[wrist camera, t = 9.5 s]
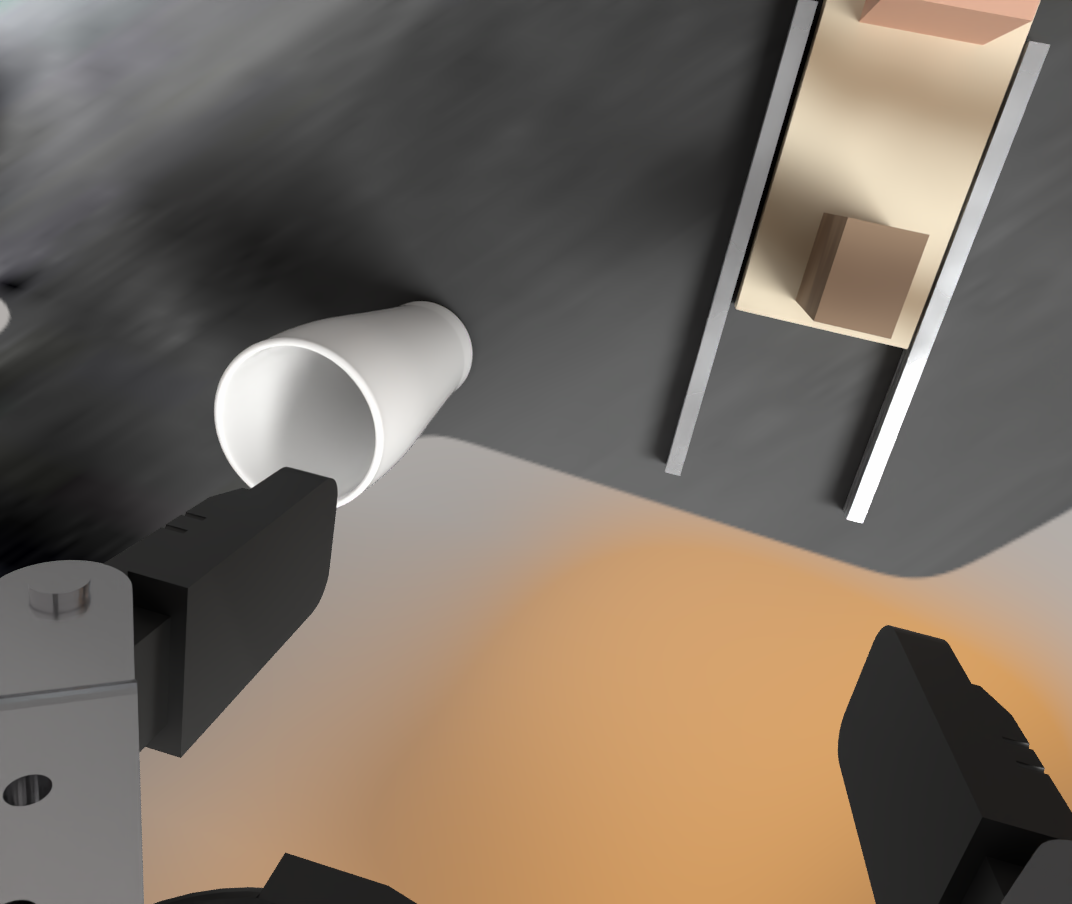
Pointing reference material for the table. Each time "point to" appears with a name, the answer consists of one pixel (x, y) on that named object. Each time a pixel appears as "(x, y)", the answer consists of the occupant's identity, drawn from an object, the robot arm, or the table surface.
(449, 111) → the table surface
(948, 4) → the terracotta block
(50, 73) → the table surface
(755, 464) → the table surface
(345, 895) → the robot arm
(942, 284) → the guide rails
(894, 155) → the birch strip
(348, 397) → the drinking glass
